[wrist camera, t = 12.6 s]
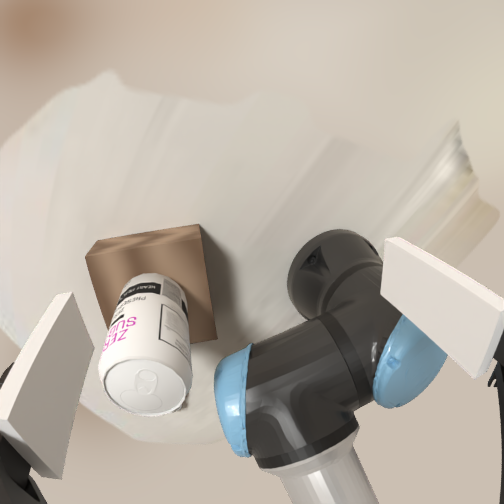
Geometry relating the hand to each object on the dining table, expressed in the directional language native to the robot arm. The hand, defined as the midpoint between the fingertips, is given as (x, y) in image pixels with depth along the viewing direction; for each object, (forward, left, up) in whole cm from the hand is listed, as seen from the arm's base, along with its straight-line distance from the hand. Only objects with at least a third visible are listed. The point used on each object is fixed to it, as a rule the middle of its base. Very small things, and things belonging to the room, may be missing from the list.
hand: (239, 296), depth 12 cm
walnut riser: (+8, +12, -29) cm, 32 cm away
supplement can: (+8, +12, -23) cm, 27 cm away
